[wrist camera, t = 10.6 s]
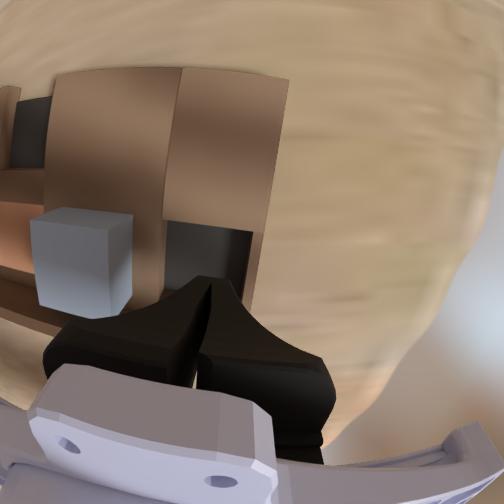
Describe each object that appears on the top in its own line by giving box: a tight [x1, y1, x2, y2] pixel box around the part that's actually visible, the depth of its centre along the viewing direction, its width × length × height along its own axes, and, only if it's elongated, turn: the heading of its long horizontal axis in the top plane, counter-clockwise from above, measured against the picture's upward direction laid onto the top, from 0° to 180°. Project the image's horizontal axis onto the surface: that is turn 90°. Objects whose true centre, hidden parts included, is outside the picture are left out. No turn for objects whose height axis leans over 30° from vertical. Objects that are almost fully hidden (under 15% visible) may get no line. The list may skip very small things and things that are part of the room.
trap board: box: [0, 67, 289, 337], centre depth 12 cm, size 14×21×4 cm, turn 81°
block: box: [30, 207, 133, 319], centre depth 13 cm, size 4×4×3 cm
